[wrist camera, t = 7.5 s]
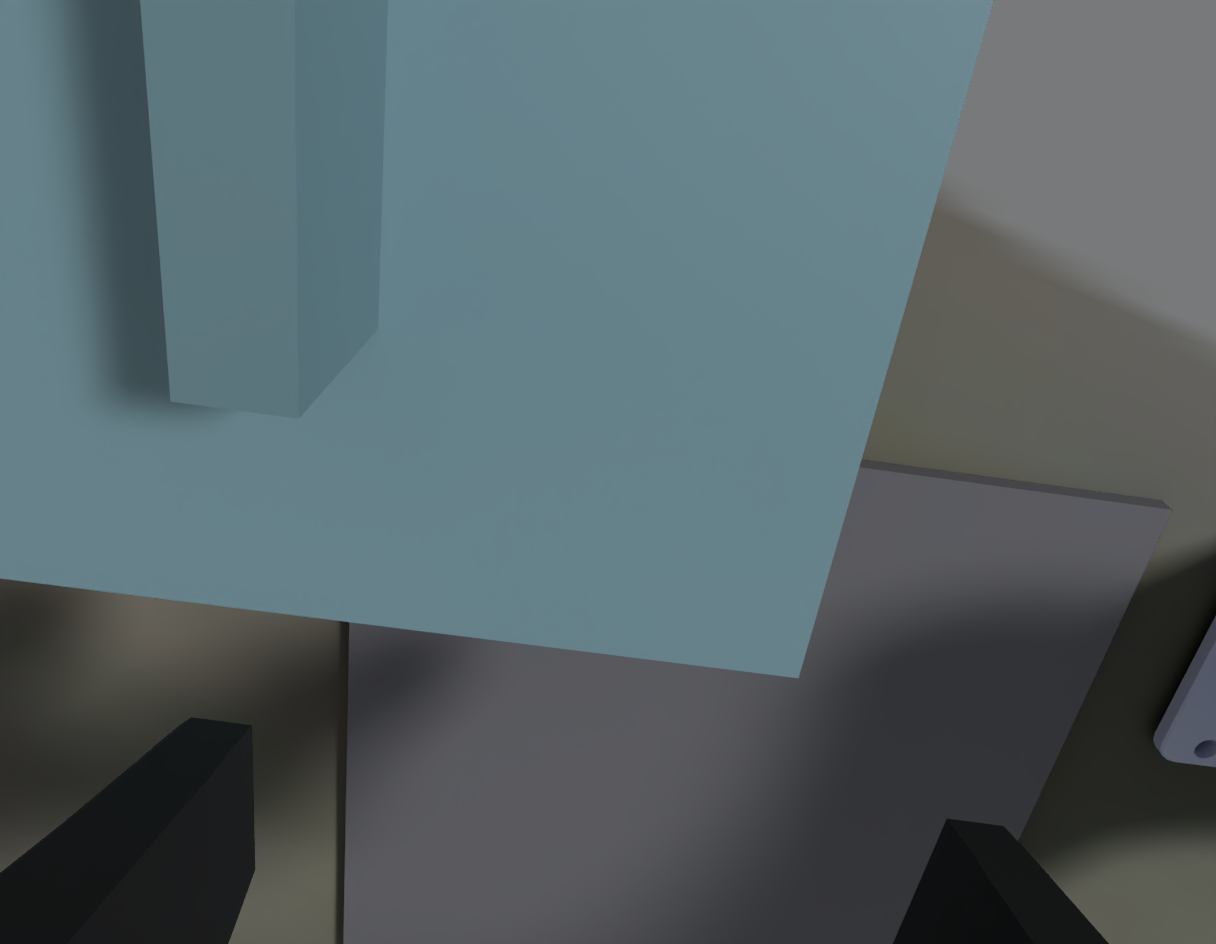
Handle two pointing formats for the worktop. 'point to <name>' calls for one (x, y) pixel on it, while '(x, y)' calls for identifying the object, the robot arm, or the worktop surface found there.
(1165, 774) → the worktop surface
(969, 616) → the mat
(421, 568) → the cover sheet
